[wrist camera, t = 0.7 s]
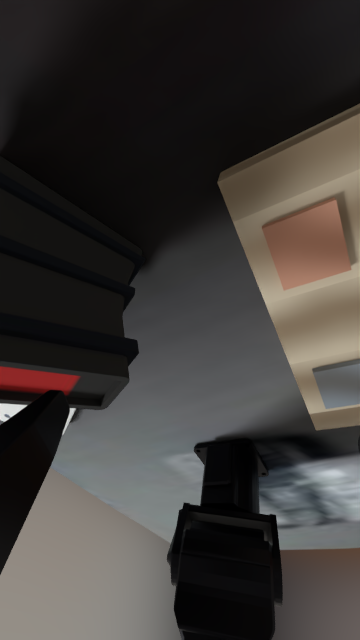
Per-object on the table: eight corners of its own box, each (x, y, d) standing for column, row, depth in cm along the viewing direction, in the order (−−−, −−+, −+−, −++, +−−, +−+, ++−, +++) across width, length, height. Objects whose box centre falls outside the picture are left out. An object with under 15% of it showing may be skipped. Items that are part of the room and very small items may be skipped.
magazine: (-77, 113, 17) (-280, 316, 7) (138, 210, 24) (176, 379, 14) (-80, 174, 19) (-240, 392, 9) (118, 247, 26) (139, 415, 16)
